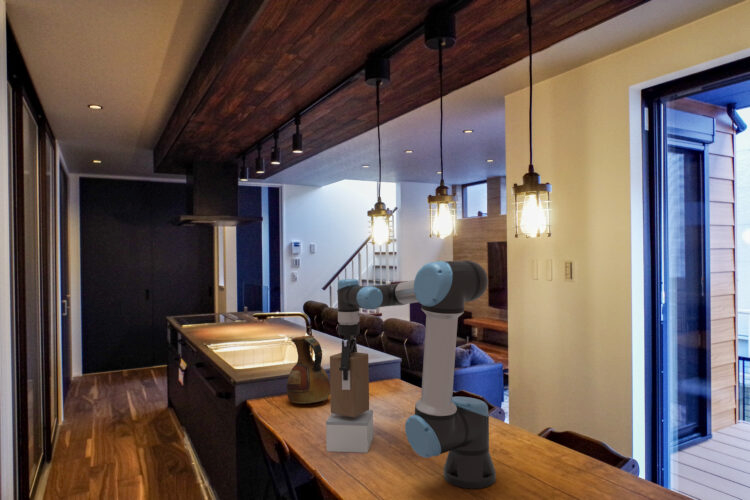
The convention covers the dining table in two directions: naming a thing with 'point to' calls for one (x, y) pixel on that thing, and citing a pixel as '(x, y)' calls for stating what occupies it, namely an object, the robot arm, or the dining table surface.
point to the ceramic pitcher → (308, 374)
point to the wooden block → (358, 394)
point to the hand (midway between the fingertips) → (349, 384)
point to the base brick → (349, 432)
